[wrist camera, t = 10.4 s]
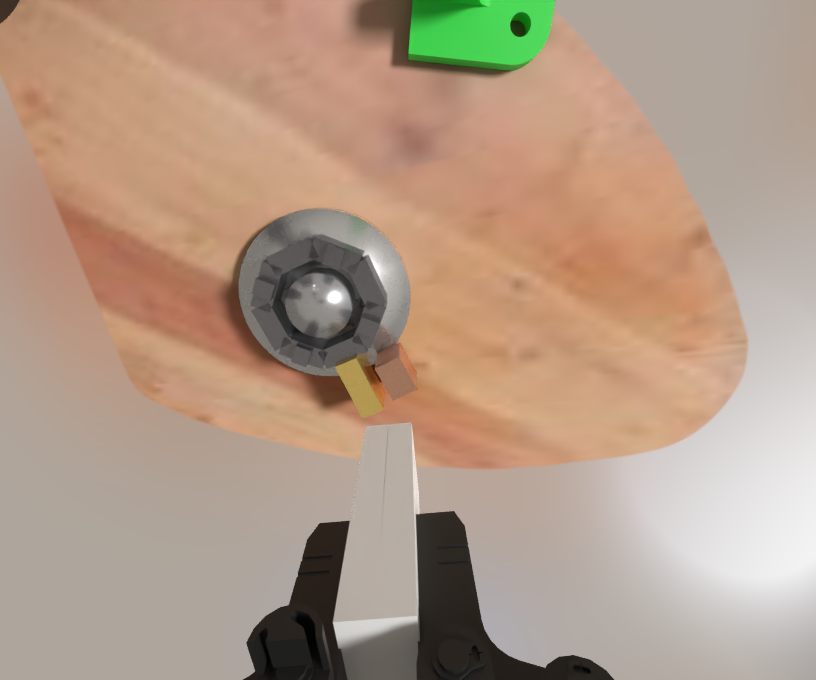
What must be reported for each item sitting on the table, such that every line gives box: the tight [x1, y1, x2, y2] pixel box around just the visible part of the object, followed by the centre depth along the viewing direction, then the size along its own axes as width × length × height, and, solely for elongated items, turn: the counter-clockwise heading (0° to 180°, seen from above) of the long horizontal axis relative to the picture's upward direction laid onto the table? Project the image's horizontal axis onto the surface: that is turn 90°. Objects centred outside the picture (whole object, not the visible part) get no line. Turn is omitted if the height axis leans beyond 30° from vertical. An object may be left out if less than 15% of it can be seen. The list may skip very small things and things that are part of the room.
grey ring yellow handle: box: [250, 234, 388, 418], centre depth 42 cm, size 19×12×4 cm, turn 24°
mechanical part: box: [408, 0, 555, 71], centre depth 33 cm, size 12×6×8 cm, turn 85°
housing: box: [239, 208, 417, 401], centre depth 43 cm, size 21×18×6 cm
